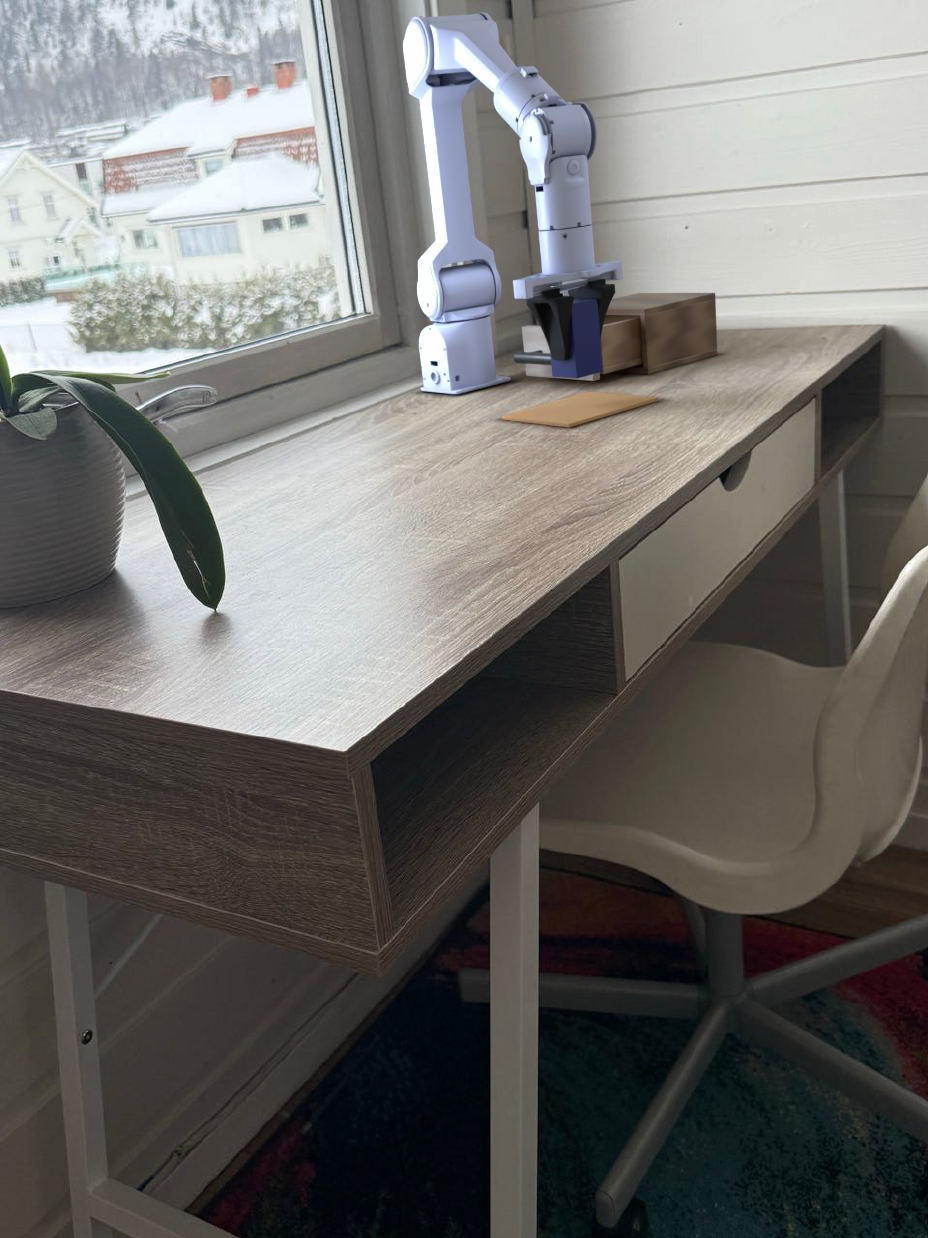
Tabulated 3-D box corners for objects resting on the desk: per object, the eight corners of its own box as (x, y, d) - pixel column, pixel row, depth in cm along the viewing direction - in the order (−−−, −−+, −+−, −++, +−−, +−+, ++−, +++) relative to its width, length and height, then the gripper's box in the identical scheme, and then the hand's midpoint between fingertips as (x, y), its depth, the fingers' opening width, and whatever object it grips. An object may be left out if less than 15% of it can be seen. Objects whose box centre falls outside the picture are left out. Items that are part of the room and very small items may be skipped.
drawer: (568, 387, 138) (564, 334, 136) (502, 382, 148) (496, 332, 145) (662, 362, 148) (659, 312, 145) (593, 358, 157) (590, 311, 155)
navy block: (577, 378, 125) (571, 303, 123) (552, 376, 128) (545, 303, 126) (602, 371, 128) (597, 297, 125) (577, 369, 131) (571, 297, 128)
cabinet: (648, 374, 146) (644, 309, 143) (573, 369, 156) (568, 308, 153) (717, 354, 153) (715, 292, 150) (642, 351, 163) (638, 292, 160)
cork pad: (569, 427, 122) (568, 423, 121) (501, 419, 130) (501, 415, 130) (658, 400, 129) (658, 397, 129) (589, 394, 138) (589, 391, 137)
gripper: (540, 234, 115) (552, 370, 120) (639, 217, 124) (647, 345, 128) (495, 237, 121) (508, 367, 126) (593, 221, 129) (601, 343, 134)
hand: (575, 356), depth 127 cm, fingers closed on navy block, 4 cm apart
